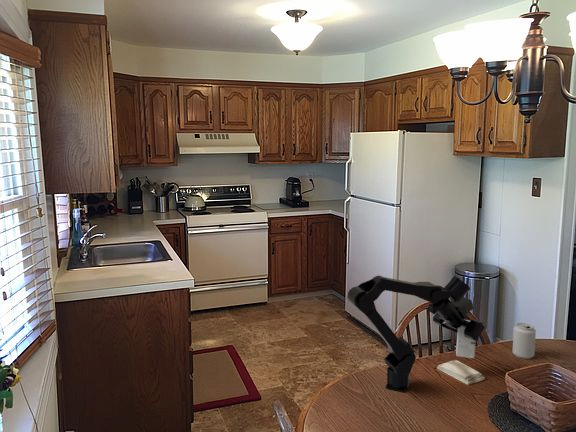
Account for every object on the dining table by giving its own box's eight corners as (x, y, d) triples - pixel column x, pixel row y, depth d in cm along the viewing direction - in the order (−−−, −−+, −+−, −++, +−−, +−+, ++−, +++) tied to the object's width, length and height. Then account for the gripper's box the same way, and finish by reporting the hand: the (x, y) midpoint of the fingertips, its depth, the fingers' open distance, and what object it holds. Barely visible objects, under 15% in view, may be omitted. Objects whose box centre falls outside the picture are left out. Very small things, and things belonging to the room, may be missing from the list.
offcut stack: (467, 385, 161) (467, 378, 160) (436, 368, 173) (436, 362, 173) (484, 379, 164) (485, 372, 164) (453, 363, 177) (453, 357, 176)
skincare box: (456, 356, 168) (457, 323, 166) (455, 351, 172) (457, 318, 170) (475, 358, 166) (477, 324, 164) (474, 353, 170) (476, 320, 169)
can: (532, 361, 177) (533, 330, 176) (510, 356, 182) (511, 326, 180) (536, 354, 183) (537, 324, 181) (515, 349, 188) (516, 320, 186)
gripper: (482, 299, 156) (504, 326, 162) (440, 285, 172) (461, 310, 179) (463, 326, 153) (486, 353, 160) (422, 309, 170) (444, 334, 176)
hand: (469, 336), depth 169 cm, fingers closed on skincare box, 7 cm apart
